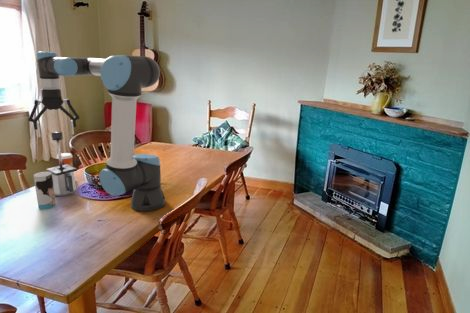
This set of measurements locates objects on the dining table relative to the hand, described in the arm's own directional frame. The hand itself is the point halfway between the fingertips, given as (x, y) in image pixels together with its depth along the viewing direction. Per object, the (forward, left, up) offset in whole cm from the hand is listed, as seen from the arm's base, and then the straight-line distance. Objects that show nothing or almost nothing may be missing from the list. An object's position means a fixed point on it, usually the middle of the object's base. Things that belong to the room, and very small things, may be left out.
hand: (56, 135), depth 150 cm
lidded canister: (-2, 0, -28) cm, 28 cm away
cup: (-10, +12, -28) cm, 32 cm away
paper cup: (+16, -10, -28) cm, 34 cm away
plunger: (0, 0, -20) cm, 20 cm away
